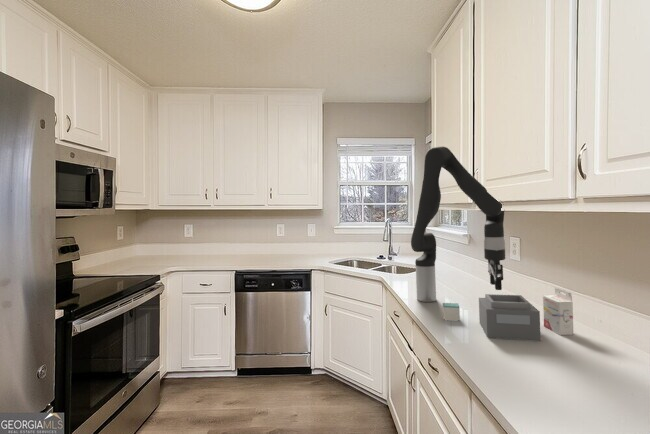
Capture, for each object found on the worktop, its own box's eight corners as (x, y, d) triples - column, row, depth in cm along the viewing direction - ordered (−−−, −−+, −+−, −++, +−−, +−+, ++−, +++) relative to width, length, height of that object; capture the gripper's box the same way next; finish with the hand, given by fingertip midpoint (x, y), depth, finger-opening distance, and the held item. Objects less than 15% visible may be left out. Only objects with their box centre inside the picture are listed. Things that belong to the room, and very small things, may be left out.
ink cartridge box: (542, 326, 115) (541, 286, 115) (556, 325, 115) (555, 286, 115) (559, 335, 106) (558, 293, 106) (574, 335, 106) (573, 292, 106)
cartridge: (443, 317, 129) (442, 302, 129) (458, 317, 128) (458, 303, 127) (443, 320, 126) (443, 305, 125) (459, 321, 124) (459, 306, 124)
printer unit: (479, 322, 121) (478, 292, 121) (525, 325, 117) (524, 293, 116) (487, 338, 107) (486, 303, 107) (540, 341, 103) (539, 305, 102)
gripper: (480, 245, 134) (482, 282, 135) (488, 250, 121) (489, 291, 121) (500, 245, 132) (501, 283, 133) (509, 250, 119) (511, 292, 119)
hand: (495, 287), depth 127 cm, fingers open, 8 cm apart
